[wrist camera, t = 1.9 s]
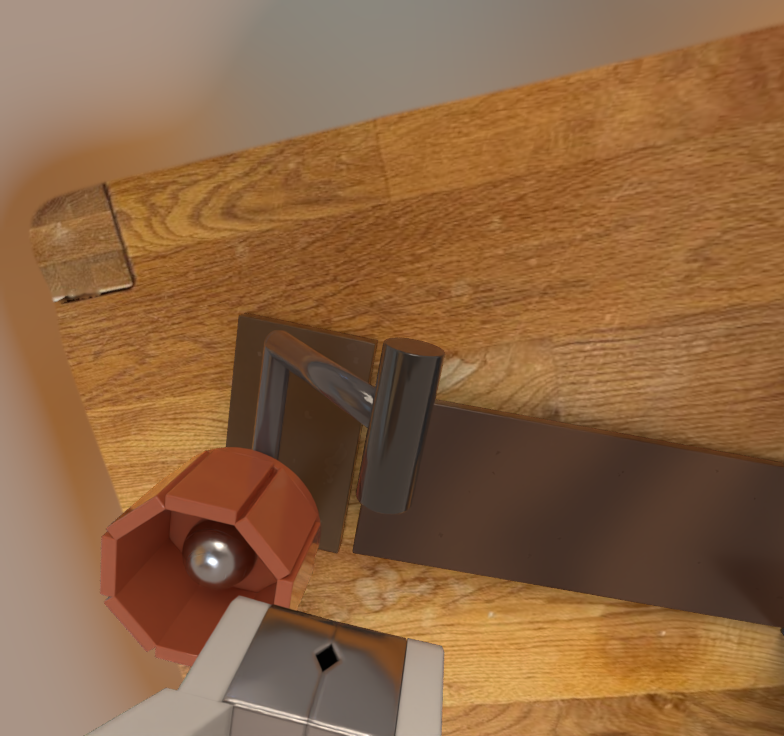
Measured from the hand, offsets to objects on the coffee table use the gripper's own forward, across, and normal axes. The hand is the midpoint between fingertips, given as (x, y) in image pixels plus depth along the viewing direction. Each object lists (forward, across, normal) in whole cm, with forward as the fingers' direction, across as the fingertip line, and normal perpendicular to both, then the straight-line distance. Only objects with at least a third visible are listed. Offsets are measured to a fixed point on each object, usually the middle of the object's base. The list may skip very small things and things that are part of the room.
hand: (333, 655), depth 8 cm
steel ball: (+12, +6, +8) cm, 15 cm away
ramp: (+23, -11, +8) cm, 27 cm away
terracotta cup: (+15, +5, +5) cm, 16 cm away
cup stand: (+23, +6, +8) cm, 25 cm away
